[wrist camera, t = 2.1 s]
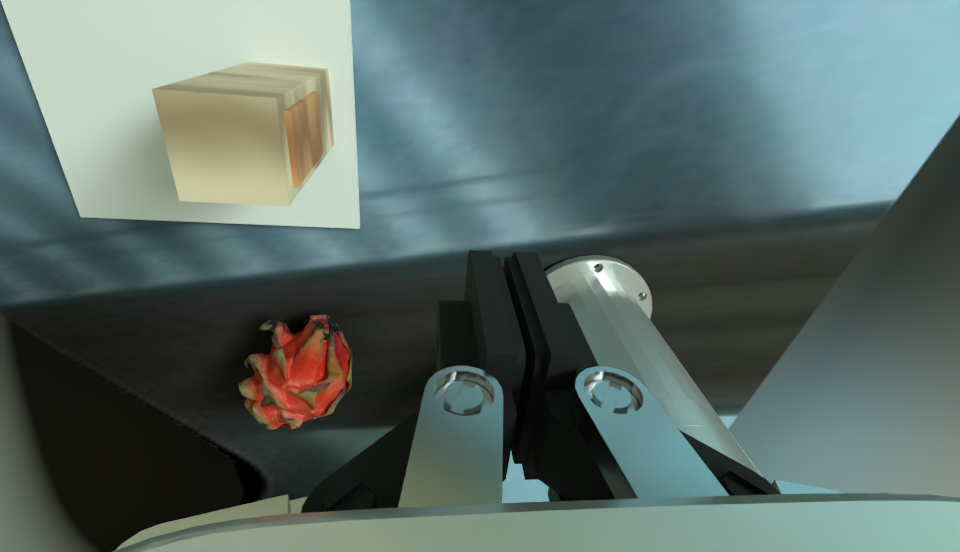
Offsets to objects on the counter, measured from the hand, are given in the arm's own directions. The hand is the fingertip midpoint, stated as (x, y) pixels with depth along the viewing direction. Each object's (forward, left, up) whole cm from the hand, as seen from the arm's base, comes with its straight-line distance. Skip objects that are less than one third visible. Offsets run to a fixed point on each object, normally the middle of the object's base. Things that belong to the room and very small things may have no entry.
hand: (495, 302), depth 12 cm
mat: (0, +17, -25) cm, 30 cm away
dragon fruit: (-21, +12, -25) cm, 35 cm away
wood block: (0, +11, -24) cm, 27 cm away
